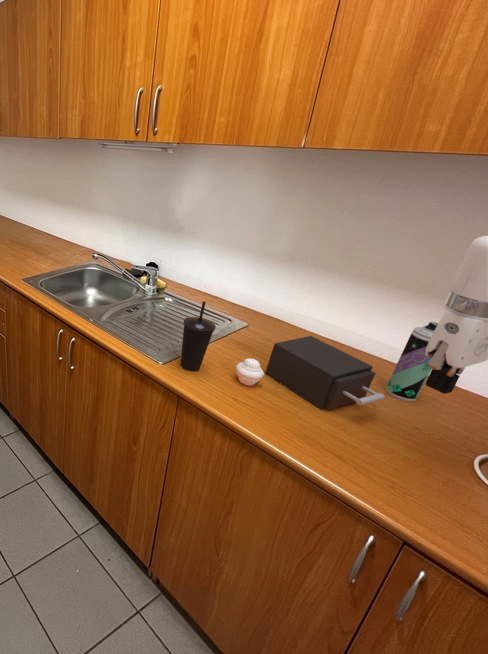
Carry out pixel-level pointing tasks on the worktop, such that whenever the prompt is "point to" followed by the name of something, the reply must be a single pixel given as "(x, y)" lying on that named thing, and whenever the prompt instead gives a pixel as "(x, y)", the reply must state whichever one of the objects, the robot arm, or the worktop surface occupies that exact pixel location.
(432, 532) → the worktop surface
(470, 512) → the worktop surface
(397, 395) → the spray can
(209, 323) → the drinking cup
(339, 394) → the pull-out drawer
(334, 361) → the drawer box
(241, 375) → the muffin
